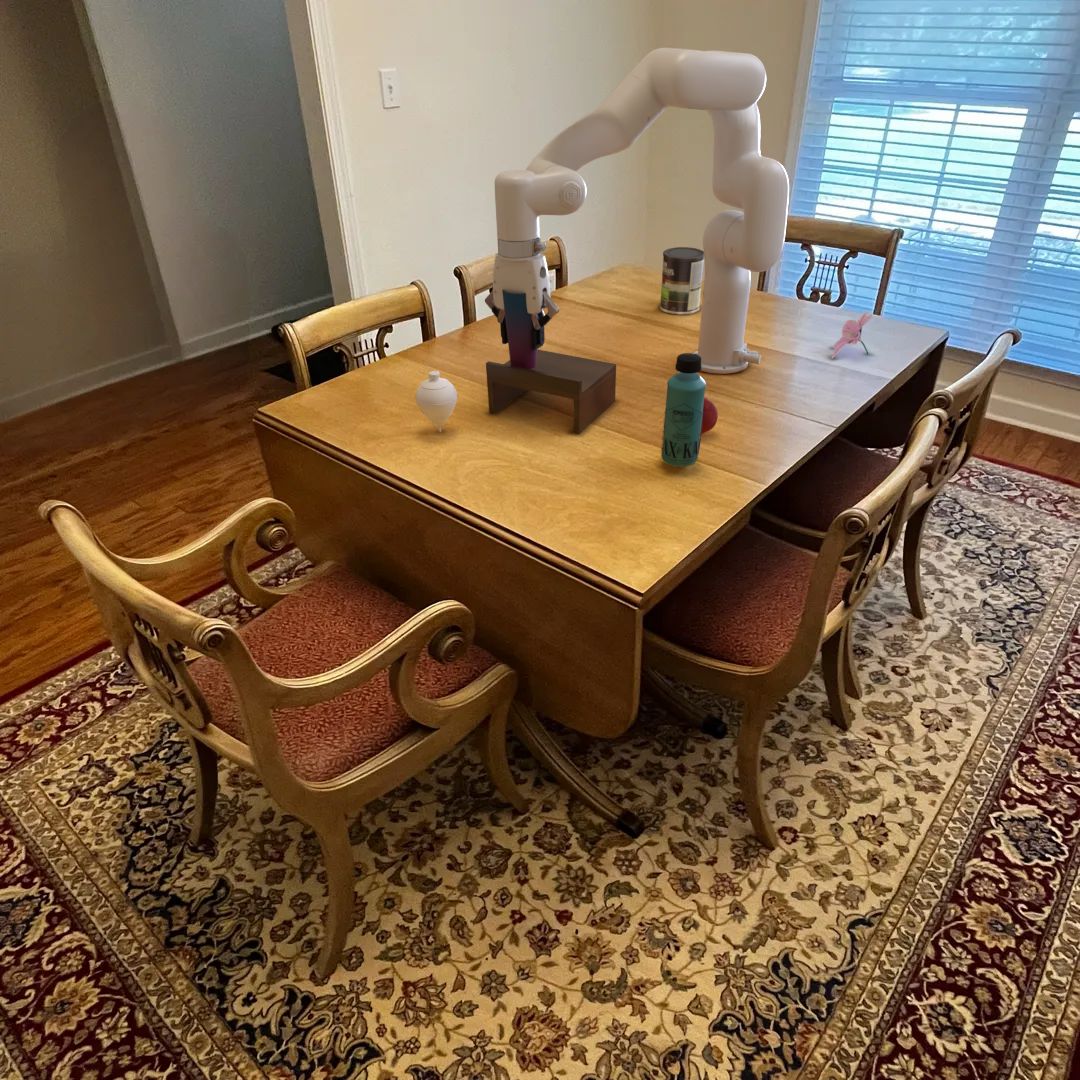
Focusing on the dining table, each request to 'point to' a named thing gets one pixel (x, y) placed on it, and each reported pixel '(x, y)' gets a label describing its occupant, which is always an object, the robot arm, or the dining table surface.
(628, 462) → the dining table surface
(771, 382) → the dining table surface
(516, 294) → the cup
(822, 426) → the dining table surface
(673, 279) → the coffee can
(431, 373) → the spinning top
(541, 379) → the shelf
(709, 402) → the onion
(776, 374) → the dining table surface
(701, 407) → the beverage bottle
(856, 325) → the lily
